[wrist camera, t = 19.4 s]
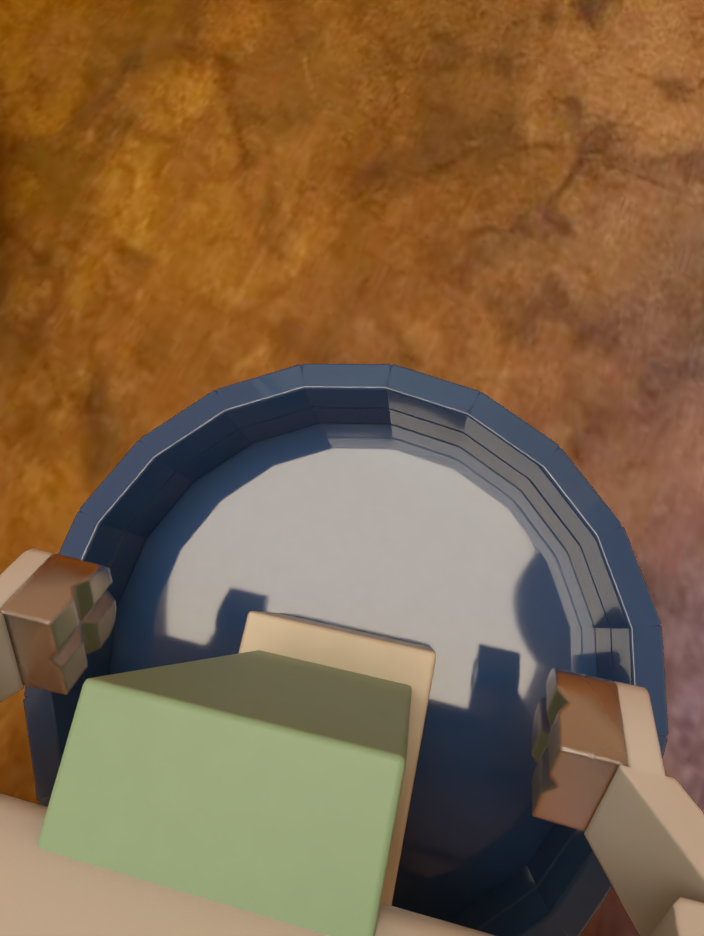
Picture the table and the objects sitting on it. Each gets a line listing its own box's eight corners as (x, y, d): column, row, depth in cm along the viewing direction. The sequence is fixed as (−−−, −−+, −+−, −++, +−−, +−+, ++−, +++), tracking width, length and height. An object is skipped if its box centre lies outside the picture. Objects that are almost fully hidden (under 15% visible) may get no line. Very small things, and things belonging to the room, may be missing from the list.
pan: (605, 410, 19) (646, 363, 16) (632, 981, 16) (690, 1078, 12) (128, 405, 21) (71, 361, 17) (63, 925, 17) (-23, 1000, 14)
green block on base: (434, 647, 17) (459, 685, 7) (392, 877, 16) (344, 1356, 6) (275, 612, 18) (70, 595, 7) (223, 830, 17) (-106, 1184, 6)
